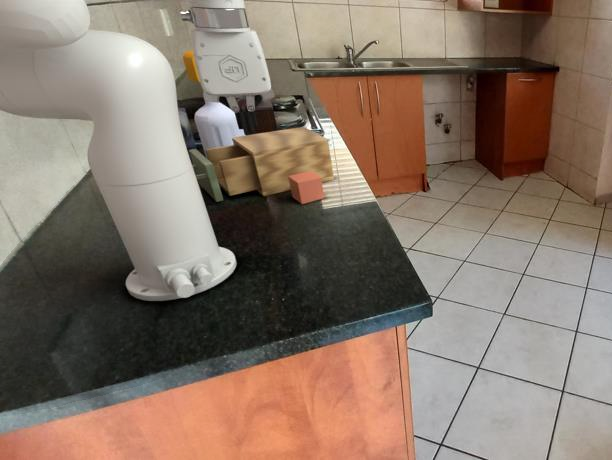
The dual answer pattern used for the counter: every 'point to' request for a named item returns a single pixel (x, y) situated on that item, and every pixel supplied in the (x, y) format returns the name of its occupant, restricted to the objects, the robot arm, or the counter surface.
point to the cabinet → (286, 157)
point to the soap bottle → (212, 116)
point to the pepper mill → (262, 116)
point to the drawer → (225, 170)
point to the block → (306, 187)
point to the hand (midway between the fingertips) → (249, 132)
